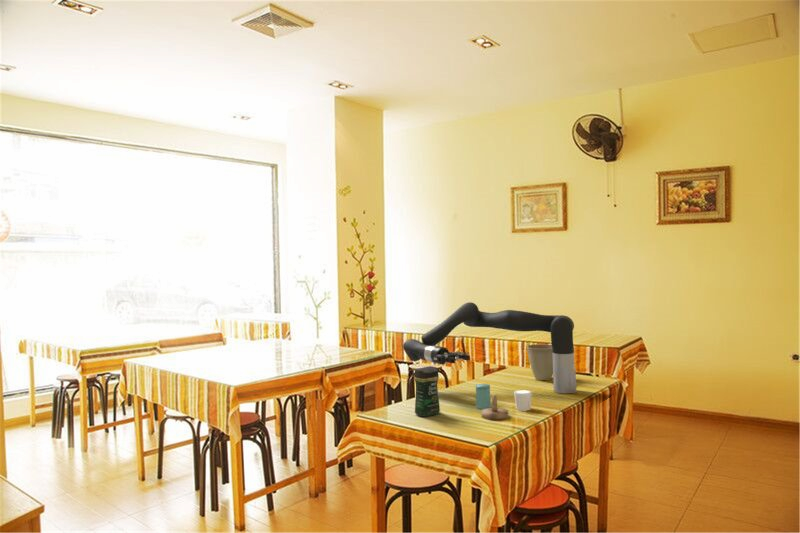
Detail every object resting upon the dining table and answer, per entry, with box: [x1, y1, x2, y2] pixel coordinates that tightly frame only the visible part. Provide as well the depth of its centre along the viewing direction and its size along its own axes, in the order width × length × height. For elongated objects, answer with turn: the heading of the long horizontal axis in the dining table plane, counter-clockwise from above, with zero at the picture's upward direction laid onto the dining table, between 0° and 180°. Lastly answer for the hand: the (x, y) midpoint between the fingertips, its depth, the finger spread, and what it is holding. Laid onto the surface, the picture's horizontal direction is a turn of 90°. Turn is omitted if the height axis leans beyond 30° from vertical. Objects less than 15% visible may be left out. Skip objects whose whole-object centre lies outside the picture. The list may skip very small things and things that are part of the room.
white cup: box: [513, 389, 532, 412], centre depth 227 cm, size 7×7×7 cm
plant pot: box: [526, 343, 553, 381], centre depth 278 cm, size 15×15×16 cm
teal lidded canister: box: [475, 383, 492, 410], centre depth 232 cm, size 6×6×9 cm
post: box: [481, 394, 509, 421], centre depth 219 cm, size 10×10×8 cm
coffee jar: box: [413, 365, 441, 417], centre depth 226 cm, size 10×8×19 cm
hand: (462, 359), depth 241 cm, fingers open, 8 cm apart
